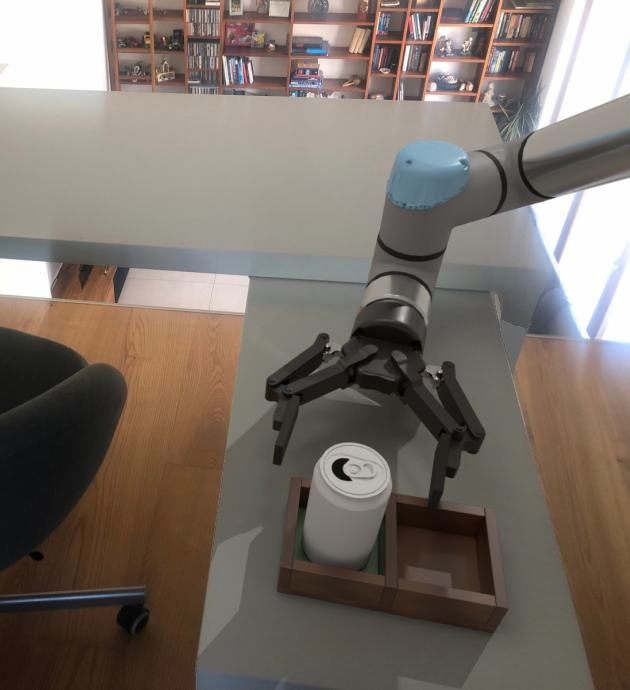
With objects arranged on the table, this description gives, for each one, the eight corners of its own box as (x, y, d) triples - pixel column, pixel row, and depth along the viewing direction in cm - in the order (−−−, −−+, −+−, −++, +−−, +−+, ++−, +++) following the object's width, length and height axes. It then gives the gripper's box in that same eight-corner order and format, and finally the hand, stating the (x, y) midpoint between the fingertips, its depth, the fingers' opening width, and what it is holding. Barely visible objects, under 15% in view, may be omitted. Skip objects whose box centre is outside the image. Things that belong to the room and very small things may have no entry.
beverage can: (298, 516, 67) (312, 436, 59) (365, 519, 67) (388, 439, 59) (303, 577, 62) (318, 499, 54) (375, 580, 62) (401, 502, 54)
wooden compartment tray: (482, 535, 66) (495, 509, 63) (494, 633, 59) (509, 609, 56) (287, 502, 70) (291, 476, 67) (276, 591, 63) (280, 566, 60)
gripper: (503, 378, 74) (493, 545, 59) (275, 327, 81) (217, 464, 66) (526, 325, 69) (521, 493, 54) (280, 275, 76) (218, 411, 61)
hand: (353, 477), depth 60 cm, fingers open, 13 cm apart
